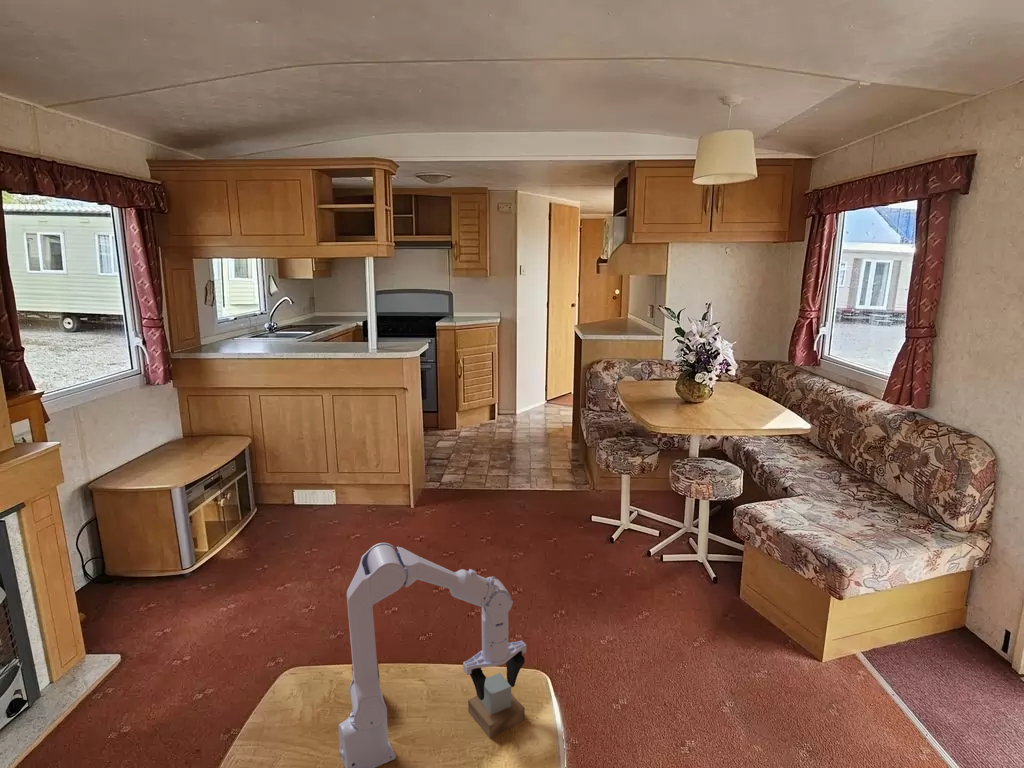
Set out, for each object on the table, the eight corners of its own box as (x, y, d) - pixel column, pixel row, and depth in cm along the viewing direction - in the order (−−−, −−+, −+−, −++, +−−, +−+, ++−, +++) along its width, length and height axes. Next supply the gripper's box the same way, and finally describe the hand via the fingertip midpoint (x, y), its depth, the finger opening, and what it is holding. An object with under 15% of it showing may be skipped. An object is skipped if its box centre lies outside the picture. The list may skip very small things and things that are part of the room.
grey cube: (490, 714, 126) (490, 694, 125) (480, 700, 130) (480, 680, 129) (511, 706, 128) (511, 686, 127) (500, 692, 133) (500, 672, 132)
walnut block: (489, 740, 124) (489, 725, 123) (468, 713, 131) (468, 699, 130) (524, 721, 129) (524, 707, 128) (502, 697, 136) (502, 683, 135)
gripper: (514, 615, 133) (515, 668, 135) (456, 635, 126) (458, 691, 128) (531, 632, 127) (531, 687, 129) (471, 654, 120) (472, 712, 122)
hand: (495, 690), depth 128 cm, fingers open, 7 cm apart
